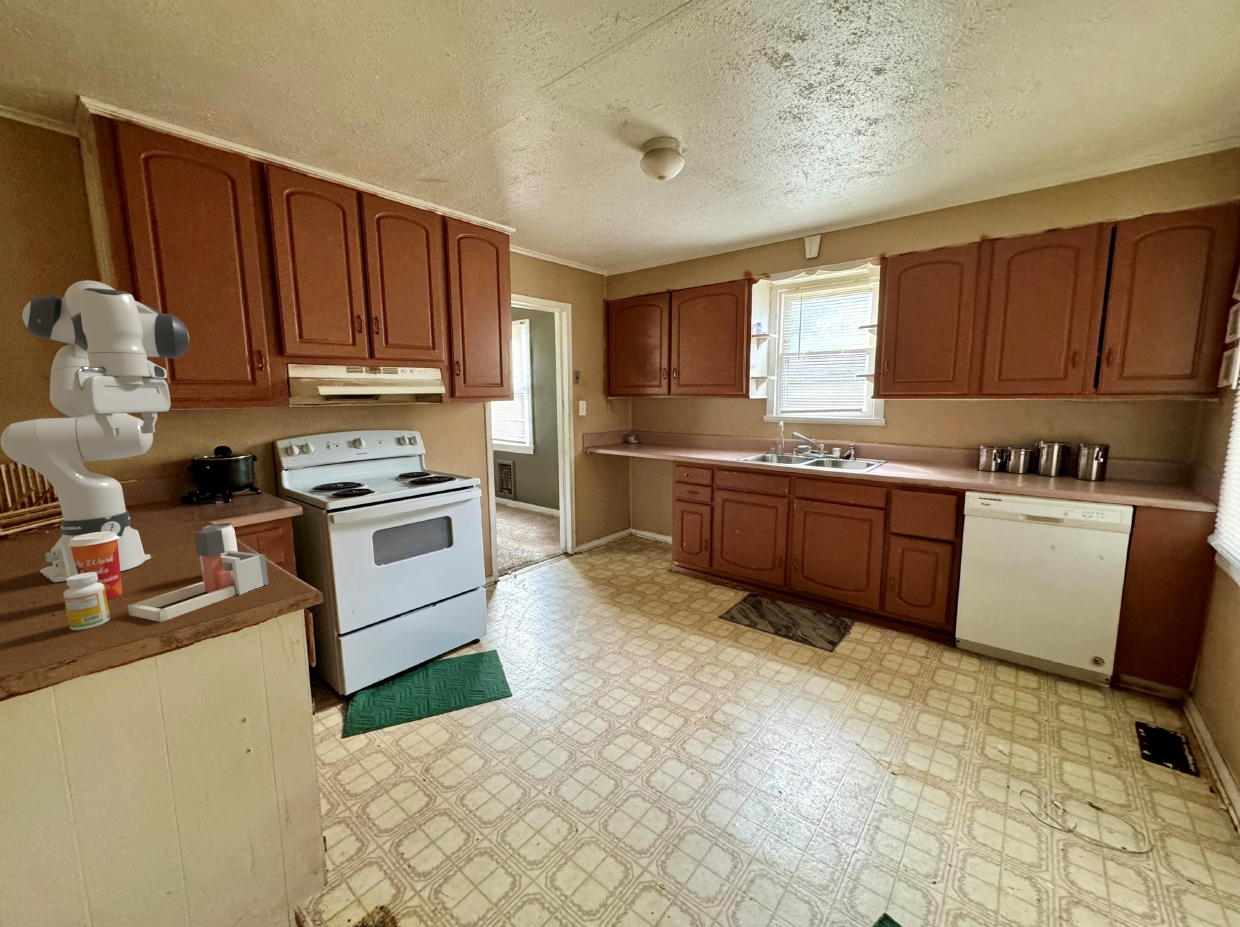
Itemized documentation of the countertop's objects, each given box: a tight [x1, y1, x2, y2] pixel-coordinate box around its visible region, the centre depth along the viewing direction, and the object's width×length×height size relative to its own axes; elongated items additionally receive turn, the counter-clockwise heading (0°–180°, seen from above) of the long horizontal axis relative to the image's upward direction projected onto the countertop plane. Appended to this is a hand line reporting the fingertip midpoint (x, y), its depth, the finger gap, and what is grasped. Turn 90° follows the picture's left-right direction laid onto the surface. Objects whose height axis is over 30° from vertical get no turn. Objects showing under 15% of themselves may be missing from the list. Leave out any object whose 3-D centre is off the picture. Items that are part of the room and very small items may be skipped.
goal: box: [199, 551, 270, 596], centre depth 113 cm, size 12×6×8 cm, turn 69°
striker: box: [193, 529, 232, 594], centre depth 109 cm, size 6×3×14 cm, turn 69°
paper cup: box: [68, 531, 123, 601], centre depth 109 cm, size 8×8×14 cm
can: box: [201, 522, 239, 552], centre depth 122 cm, size 6×6×12 cm
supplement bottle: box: [62, 572, 111, 631], centre depth 95 cm, size 5×5×10 cm
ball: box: [230, 570, 235, 587], centre depth 113 cm, size 4×4×4 cm
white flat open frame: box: [127, 581, 237, 623], centre depth 104 cm, size 10×13×2 cm
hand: (131, 435), depth 106 cm, fingers open, 8 cm apart
